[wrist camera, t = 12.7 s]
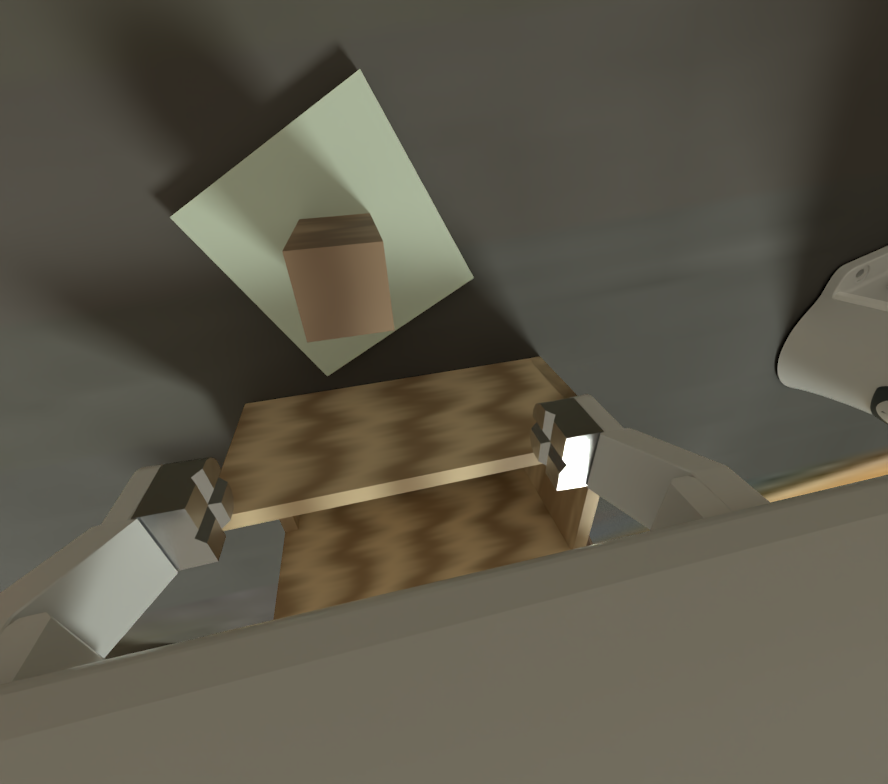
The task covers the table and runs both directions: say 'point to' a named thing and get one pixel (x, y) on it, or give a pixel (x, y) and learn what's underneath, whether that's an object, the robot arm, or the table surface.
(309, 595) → the oak cubby
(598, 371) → the table surface
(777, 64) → the table surface
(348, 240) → the walnut block
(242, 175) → the sage board
